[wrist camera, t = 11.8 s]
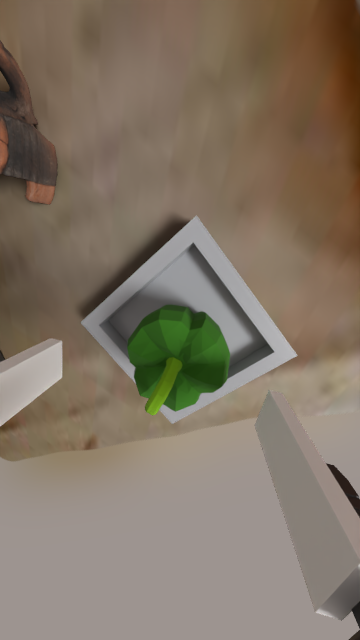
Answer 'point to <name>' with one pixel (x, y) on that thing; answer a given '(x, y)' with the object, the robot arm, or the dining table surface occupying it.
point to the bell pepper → (177, 357)
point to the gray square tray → (193, 310)
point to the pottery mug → (24, 136)
